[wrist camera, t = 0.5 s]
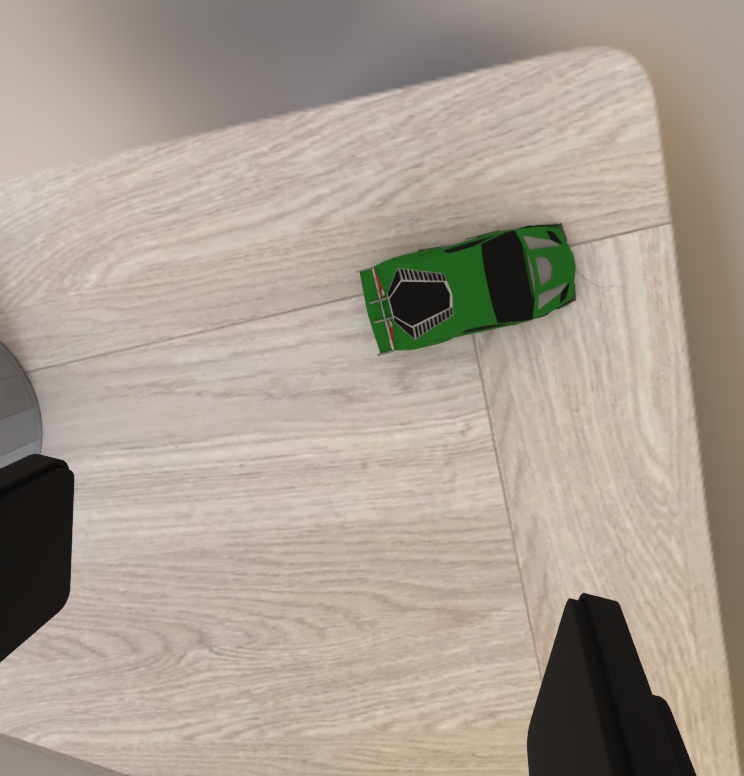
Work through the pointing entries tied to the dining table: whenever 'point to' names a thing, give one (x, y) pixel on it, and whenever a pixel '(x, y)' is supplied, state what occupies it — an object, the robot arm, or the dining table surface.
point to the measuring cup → (17, 412)
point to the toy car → (469, 286)
